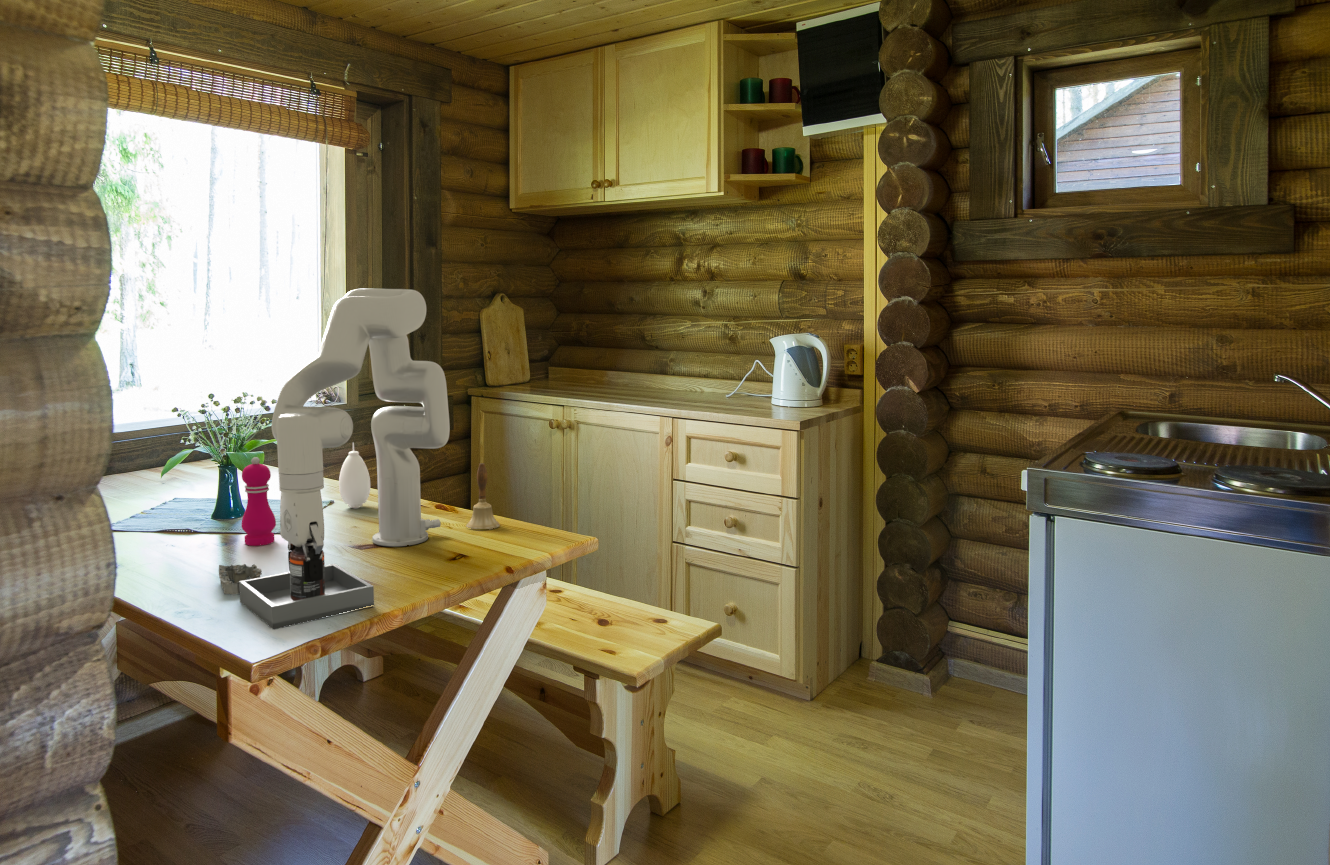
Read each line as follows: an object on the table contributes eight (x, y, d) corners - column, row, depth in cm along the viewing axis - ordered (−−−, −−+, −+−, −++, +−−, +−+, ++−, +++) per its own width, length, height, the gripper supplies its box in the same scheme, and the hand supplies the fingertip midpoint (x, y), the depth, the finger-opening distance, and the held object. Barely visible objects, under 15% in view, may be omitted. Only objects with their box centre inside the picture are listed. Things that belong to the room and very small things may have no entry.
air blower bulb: (376, 506, 242) (374, 441, 240) (353, 512, 236) (350, 445, 233) (357, 503, 247) (355, 438, 244) (333, 508, 240) (331, 442, 237)
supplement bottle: (314, 590, 169) (314, 532, 167) (331, 598, 166) (331, 540, 164) (283, 597, 165) (283, 538, 163) (300, 606, 161) (300, 546, 159)
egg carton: (264, 592, 172) (263, 572, 172) (221, 598, 169) (219, 577, 168) (260, 576, 182) (259, 557, 181) (219, 581, 178) (217, 562, 178)
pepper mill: (263, 547, 202) (259, 460, 199) (235, 545, 203) (230, 459, 200) (283, 539, 209) (279, 455, 206) (255, 537, 210) (251, 453, 207)
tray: (336, 583, 178) (335, 563, 177) (374, 606, 164) (373, 586, 164) (240, 602, 166) (239, 581, 165) (272, 629, 153) (271, 607, 152)
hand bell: (460, 525, 224) (459, 463, 222) (489, 520, 230) (488, 459, 227) (475, 532, 218) (474, 468, 216) (505, 527, 223) (505, 464, 221)
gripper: (264, 475, 166) (268, 568, 168) (297, 491, 153) (302, 592, 156) (305, 471, 171) (309, 561, 173) (340, 486, 158) (344, 583, 161)
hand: (305, 575), depth 164 cm, fingers open, 6 cm apart
